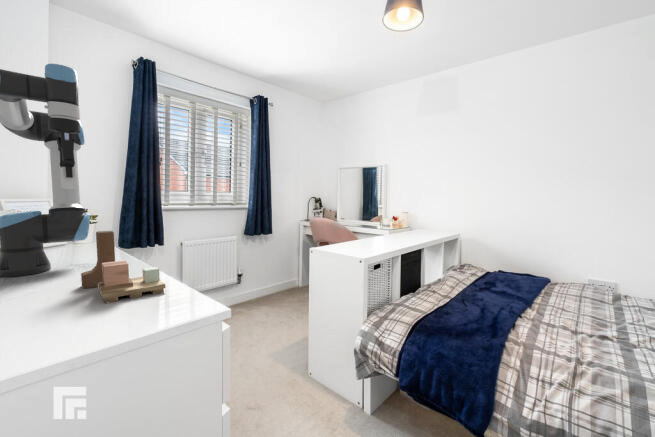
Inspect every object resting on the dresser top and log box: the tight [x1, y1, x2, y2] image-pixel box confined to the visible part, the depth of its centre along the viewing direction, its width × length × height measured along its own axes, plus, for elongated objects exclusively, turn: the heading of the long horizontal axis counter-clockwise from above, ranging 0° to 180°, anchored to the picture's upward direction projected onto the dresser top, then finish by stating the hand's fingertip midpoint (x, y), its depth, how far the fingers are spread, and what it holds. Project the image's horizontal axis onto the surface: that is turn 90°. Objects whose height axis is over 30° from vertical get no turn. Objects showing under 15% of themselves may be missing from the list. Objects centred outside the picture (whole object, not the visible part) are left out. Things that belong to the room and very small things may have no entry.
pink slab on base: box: [99, 259, 133, 291], centre depth 93 cm, size 6×8×7 cm
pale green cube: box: [142, 266, 161, 283], centre depth 99 cm, size 4×4×4 cm
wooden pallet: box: [97, 276, 166, 304], centre depth 96 cm, size 14×16×2 cm
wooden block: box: [80, 230, 116, 289], centre depth 102 cm, size 9×4×18 cm, turn 133°
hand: (68, 188), depth 96 cm, fingers open, 13 cm apart
